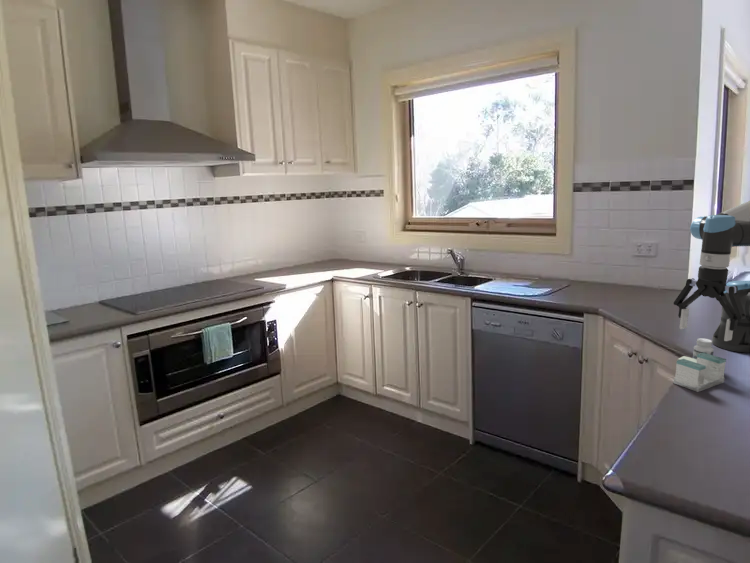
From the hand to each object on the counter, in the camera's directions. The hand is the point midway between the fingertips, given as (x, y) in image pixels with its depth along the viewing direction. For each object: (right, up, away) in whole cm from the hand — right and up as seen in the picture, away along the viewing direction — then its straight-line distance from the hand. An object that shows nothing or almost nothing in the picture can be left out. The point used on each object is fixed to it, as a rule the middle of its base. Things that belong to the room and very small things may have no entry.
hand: (704, 334), depth 162 cm
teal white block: (-8, -13, -9) cm, 18 cm away
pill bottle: (+1, -11, +2) cm, 11 cm away
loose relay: (-6, -12, -1) cm, 13 cm away
